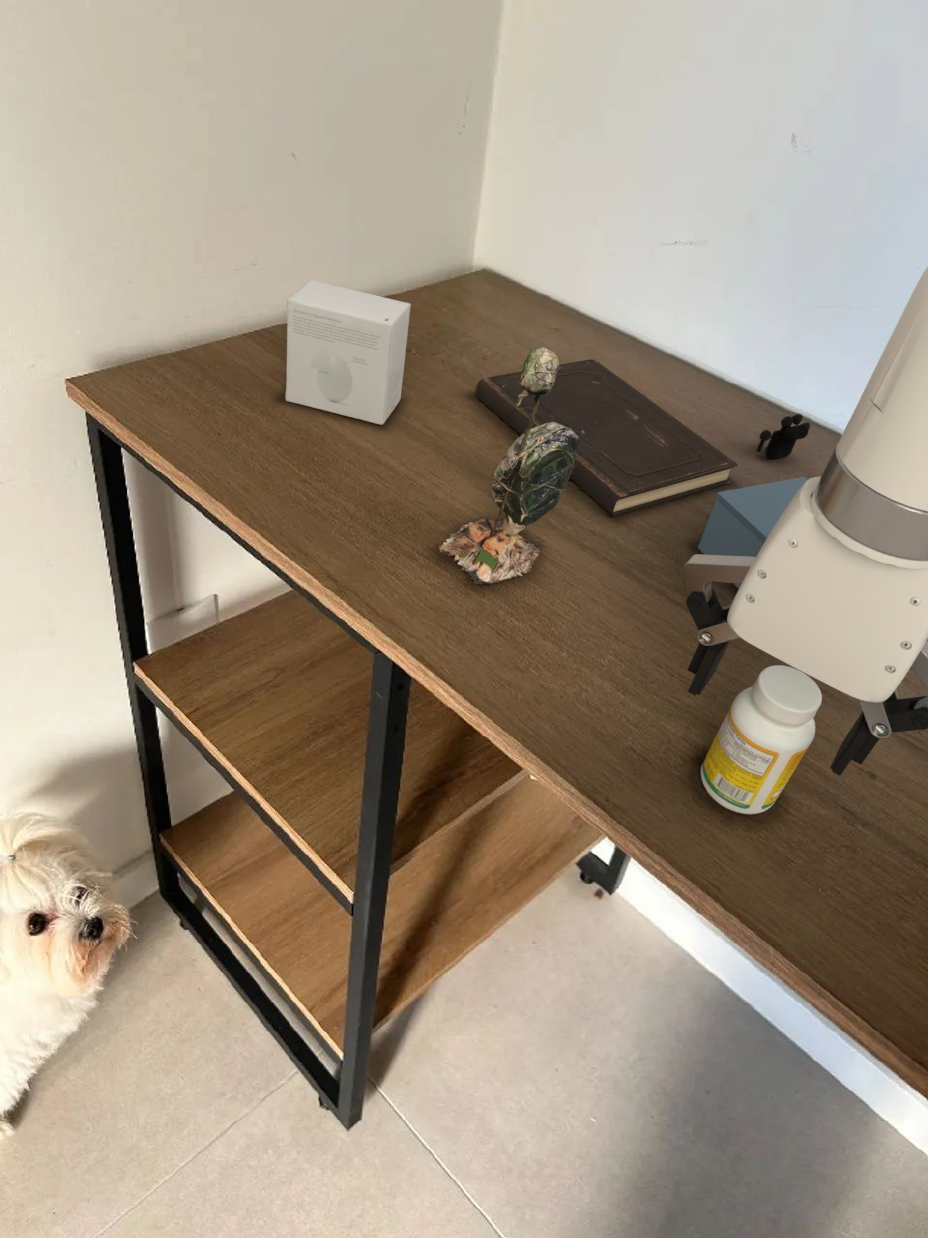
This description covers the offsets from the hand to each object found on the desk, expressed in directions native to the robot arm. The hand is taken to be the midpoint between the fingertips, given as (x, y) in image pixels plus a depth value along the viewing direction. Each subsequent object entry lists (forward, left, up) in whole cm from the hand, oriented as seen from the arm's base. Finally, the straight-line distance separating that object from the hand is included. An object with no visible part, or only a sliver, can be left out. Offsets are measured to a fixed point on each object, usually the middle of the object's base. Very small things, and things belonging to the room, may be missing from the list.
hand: (768, 720), depth 59 cm
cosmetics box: (+55, +8, -7) cm, 56 cm away
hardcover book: (+42, -15, -7) cm, 45 cm away
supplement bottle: (0, 0, -7) cm, 7 cm away
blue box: (+19, -19, -7) cm, 28 cm away
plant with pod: (+28, +4, -7) cm, 29 cm away
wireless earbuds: (+34, -33, -7) cm, 48 cm away
